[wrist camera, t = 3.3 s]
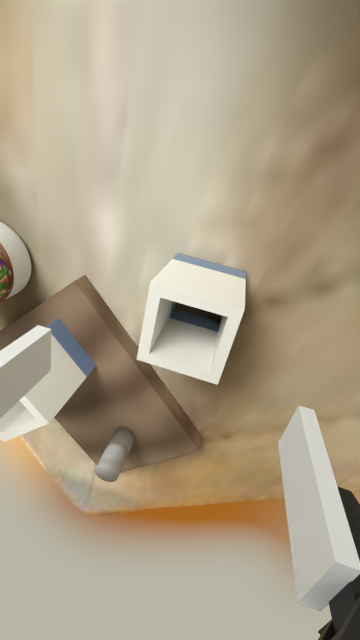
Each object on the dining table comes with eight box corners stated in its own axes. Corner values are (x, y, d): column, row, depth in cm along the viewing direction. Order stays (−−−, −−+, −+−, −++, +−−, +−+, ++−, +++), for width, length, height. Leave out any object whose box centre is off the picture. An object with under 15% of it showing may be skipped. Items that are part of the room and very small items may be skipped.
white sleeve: (164, 313, 28) (136, 359, 21) (177, 253, 25) (150, 282, 18) (225, 331, 27) (217, 384, 20) (245, 271, 25) (244, 309, 18)
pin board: (-1, 332, 33) (-57, 367, 27) (85, 274, 28) (38, 302, 22) (113, 462, 39) (87, 515, 33) (201, 436, 34) (191, 493, 28)
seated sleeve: (20, 341, 31) (-47, 390, 24) (58, 318, 28) (-5, 364, 21) (57, 384, 32) (4, 442, 25) (96, 365, 30) (49, 423, 23)
